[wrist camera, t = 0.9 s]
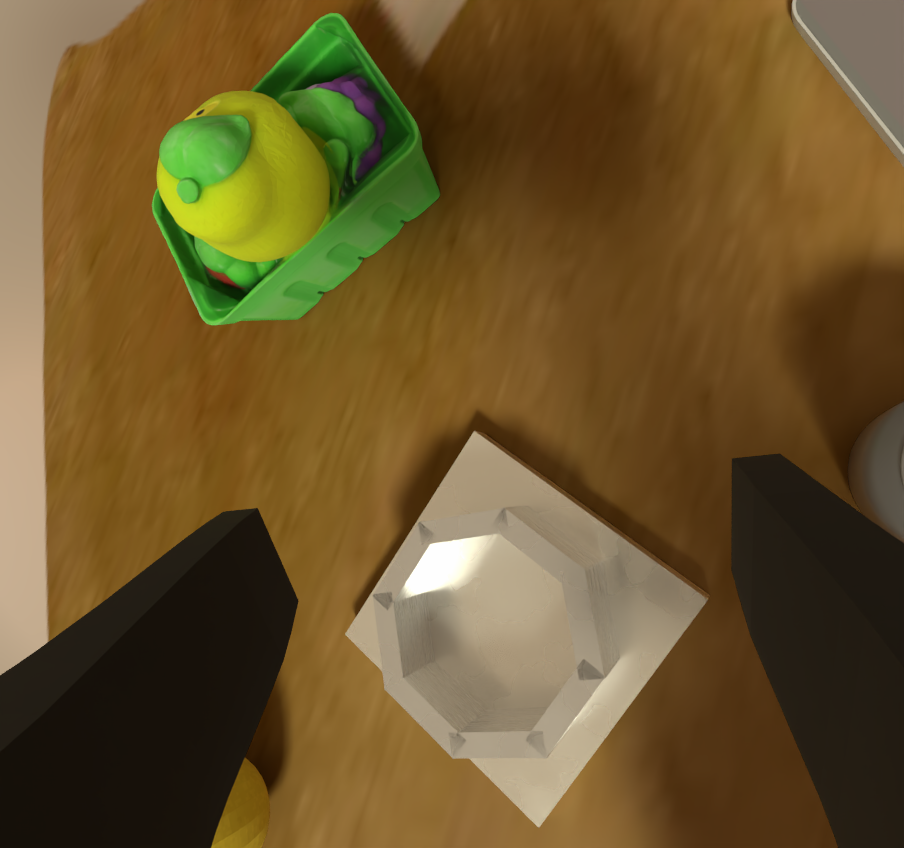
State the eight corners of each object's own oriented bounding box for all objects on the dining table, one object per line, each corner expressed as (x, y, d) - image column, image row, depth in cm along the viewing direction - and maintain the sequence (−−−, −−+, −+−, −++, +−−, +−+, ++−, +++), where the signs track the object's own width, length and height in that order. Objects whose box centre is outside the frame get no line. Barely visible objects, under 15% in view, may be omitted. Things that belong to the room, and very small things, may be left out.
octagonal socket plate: (709, 595, 21) (702, 613, 18) (547, 814, 23) (514, 866, 20) (484, 432, 25) (446, 424, 22) (358, 629, 27) (306, 647, 24)
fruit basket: (398, 77, 29) (207, -148, 19) (495, 218, 26) (333, 45, 16) (230, 239, 32) (-7, 125, 22) (301, 379, 30) (67, 321, 19)
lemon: (208, 837, 29) (32, 949, 22) (215, 712, 30) (45, 783, 23) (305, 870, 27) (144, 1008, 20) (310, 734, 28) (155, 821, 20)
